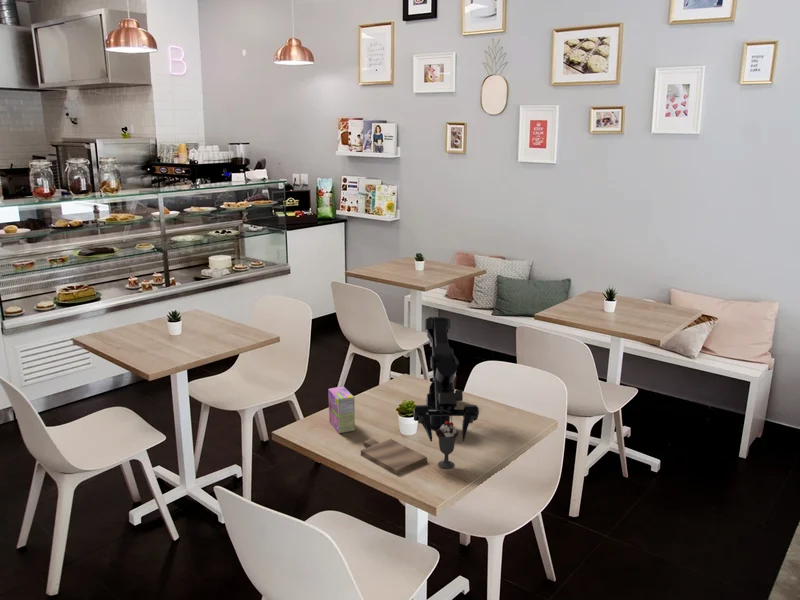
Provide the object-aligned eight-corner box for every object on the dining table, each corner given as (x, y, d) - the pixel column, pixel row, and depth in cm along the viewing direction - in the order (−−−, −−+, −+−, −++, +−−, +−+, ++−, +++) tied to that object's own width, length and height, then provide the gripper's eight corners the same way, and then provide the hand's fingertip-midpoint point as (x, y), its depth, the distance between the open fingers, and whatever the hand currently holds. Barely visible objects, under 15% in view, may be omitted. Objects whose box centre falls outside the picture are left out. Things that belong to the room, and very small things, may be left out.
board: (352, 450, 201) (352, 445, 201) (382, 439, 209) (382, 434, 209) (396, 474, 187) (396, 470, 186) (426, 461, 195) (426, 457, 194)
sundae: (458, 460, 196) (460, 412, 192) (456, 471, 189) (458, 422, 186) (436, 458, 197) (437, 411, 193) (433, 469, 190) (435, 420, 187)
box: (328, 421, 222) (328, 388, 219) (344, 418, 224) (344, 385, 221) (338, 434, 212) (337, 399, 209) (355, 431, 214) (354, 396, 212)
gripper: (414, 379, 191) (416, 431, 183) (479, 379, 192) (483, 430, 184) (412, 394, 201) (414, 444, 192) (474, 394, 201) (478, 444, 193)
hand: (447, 441), depth 190 cm, fingers open, 9 cm apart
